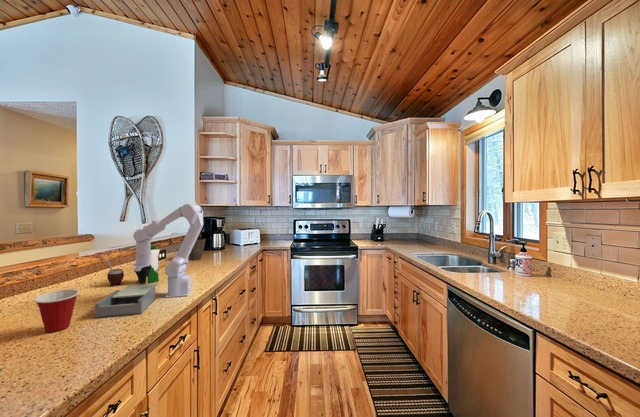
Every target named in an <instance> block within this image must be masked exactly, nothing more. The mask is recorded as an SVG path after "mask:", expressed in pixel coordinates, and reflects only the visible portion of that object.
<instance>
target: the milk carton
mask: <svg viewBox="0 0 640 417" xmlns="http://www.w3.org/2000/svg"><path fill="white" fill-rule="evenodd" d="M159 255H160V249H159V248H157V245H156V244H154V245H153V244H151V259H150V261H151V265H149V266H151V267H152V268H151V270H150V272H149V275H148V279H147V284H153V283H158V282H159ZM149 266H148V267H149ZM137 284H139V280H138V279H137Z"/></svg>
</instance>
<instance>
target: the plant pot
mask: <svg viewBox="0 0 640 417" xmlns="http://www.w3.org/2000/svg"><path fill="white" fill-rule="evenodd" d="M206 240H207V239H206V238H197V240H196V242H195V244H194V246H193V248H192V250H191V252H190V254H189V256H188V259H189V260H190V261H199V260H201V259H202V256H203V253H204V251H205V250H204V249H205V245H206Z"/></svg>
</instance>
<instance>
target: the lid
mask: <svg viewBox="0 0 640 417" xmlns="http://www.w3.org/2000/svg"><path fill="white" fill-rule="evenodd" d="M158 285H159V282H154V283H150V284H147V277H146V282H145V284H140V283H137V284H129V285H127V286H125V287H124V288H123V289H121V290H120V292H118V293H117V294H115V295H114V296H112V298H122V297H135V296H144V295H145V294H146V293H147V292H148V291H149V290H150V289H151V288H155V289H156V287H157V286H158Z"/></svg>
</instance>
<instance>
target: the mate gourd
mask: <svg viewBox="0 0 640 417" xmlns="http://www.w3.org/2000/svg"><path fill="white" fill-rule="evenodd" d="M101 259H102V260H103V261H105V262H106V263H107V265H108V266H109V269H110V270H109V271H108V273H107V277H106V278H107V281H108V283H109V285H110V286H109V287H110V288H112V287H115V286H122V281H123V280H124V277H125V274H124V272H125V271H124V270H123V269H122V268H115V269H113V267H112V265H111V264H110V261H109V260H108V259H105V258H101Z"/></svg>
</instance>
